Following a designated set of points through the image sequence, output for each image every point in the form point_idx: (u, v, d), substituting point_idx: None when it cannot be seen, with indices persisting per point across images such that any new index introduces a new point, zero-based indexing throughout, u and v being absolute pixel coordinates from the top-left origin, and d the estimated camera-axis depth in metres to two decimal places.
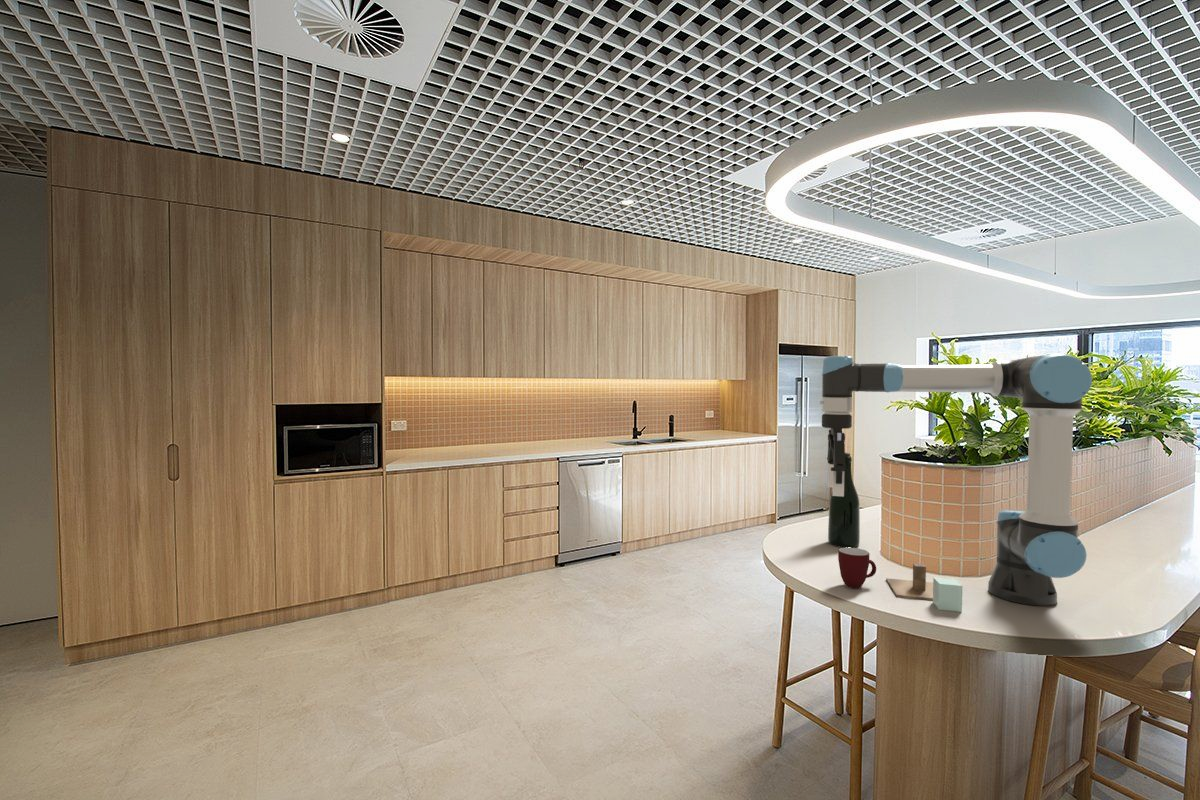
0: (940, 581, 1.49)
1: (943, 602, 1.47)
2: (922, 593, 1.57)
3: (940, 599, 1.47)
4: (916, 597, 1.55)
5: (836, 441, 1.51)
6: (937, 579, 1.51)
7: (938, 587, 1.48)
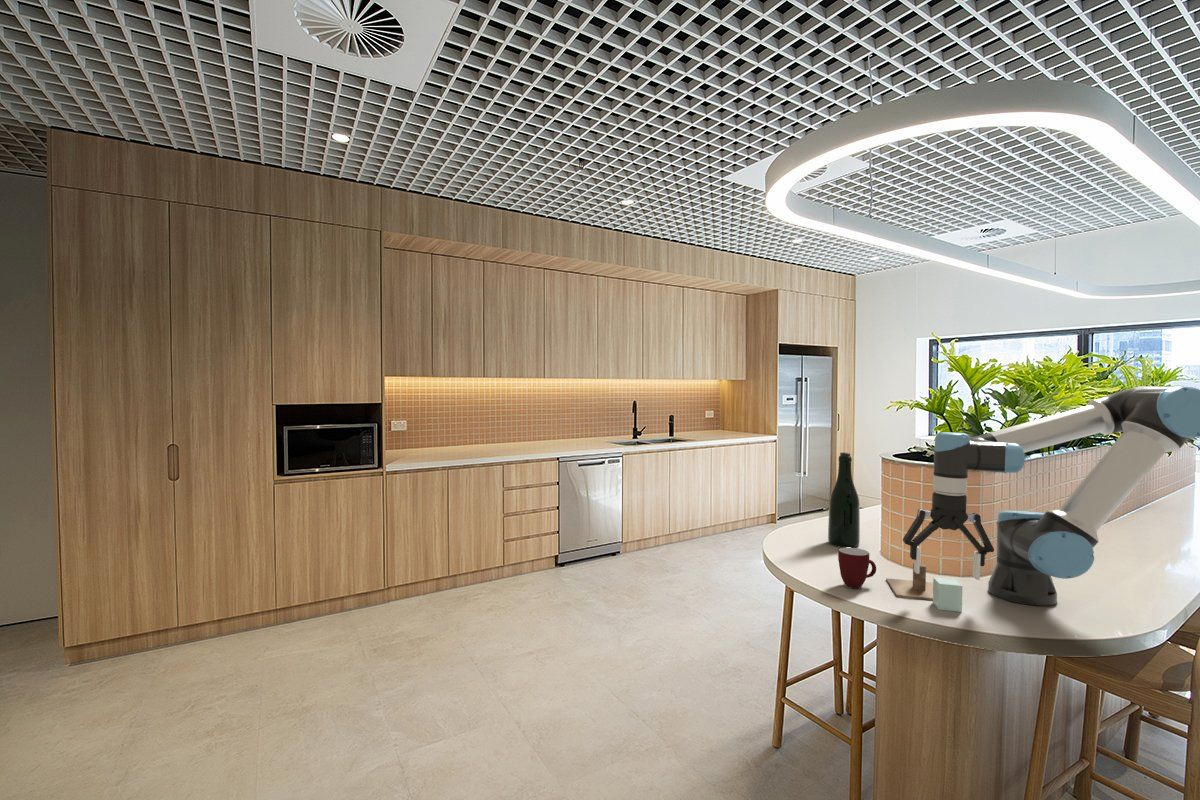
0: (940, 581, 1.49)
1: (943, 602, 1.47)
2: (922, 593, 1.57)
3: (940, 599, 1.47)
4: (916, 597, 1.55)
5: (917, 517, 1.51)
6: (937, 579, 1.51)
7: (938, 587, 1.48)
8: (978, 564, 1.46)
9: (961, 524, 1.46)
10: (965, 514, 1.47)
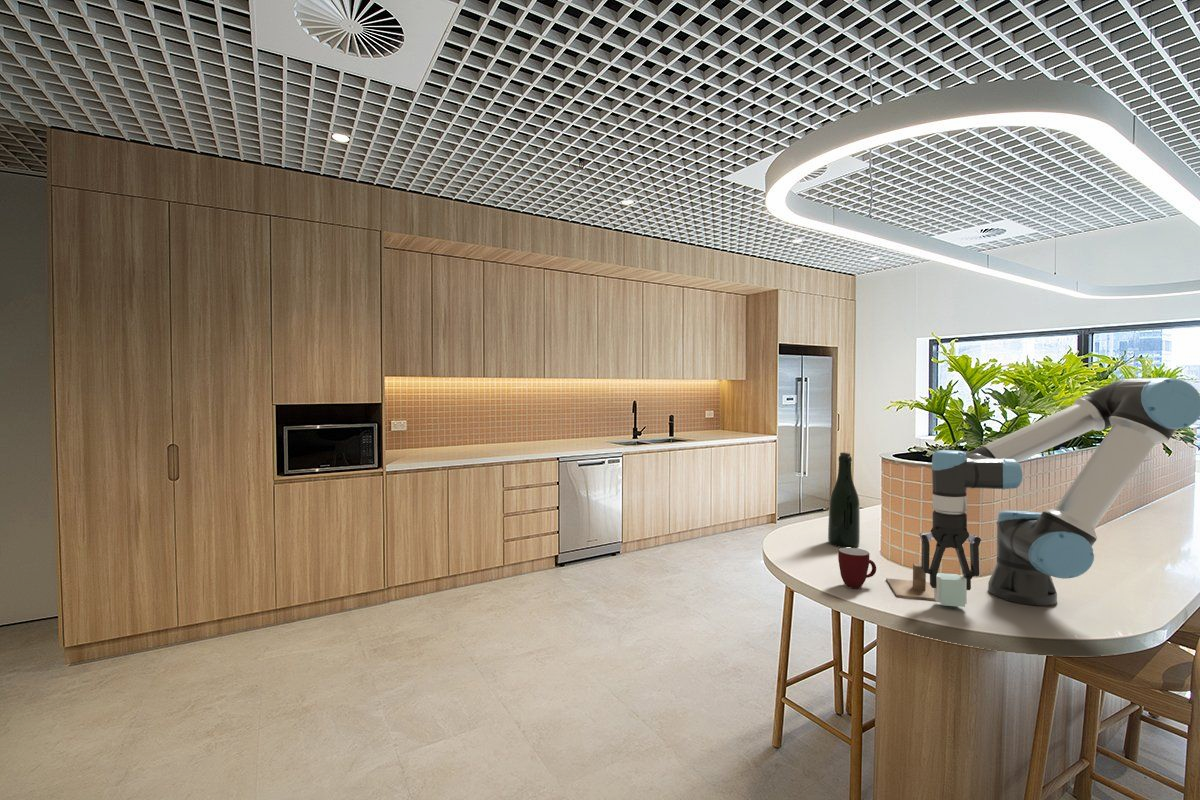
0: (942, 576, 1.49)
1: (946, 597, 1.47)
2: (922, 593, 1.57)
3: (943, 595, 1.47)
4: (916, 597, 1.55)
5: (922, 542, 1.51)
6: (939, 575, 1.50)
7: (940, 583, 1.48)
8: None
9: (960, 544, 1.47)
10: (967, 533, 1.47)
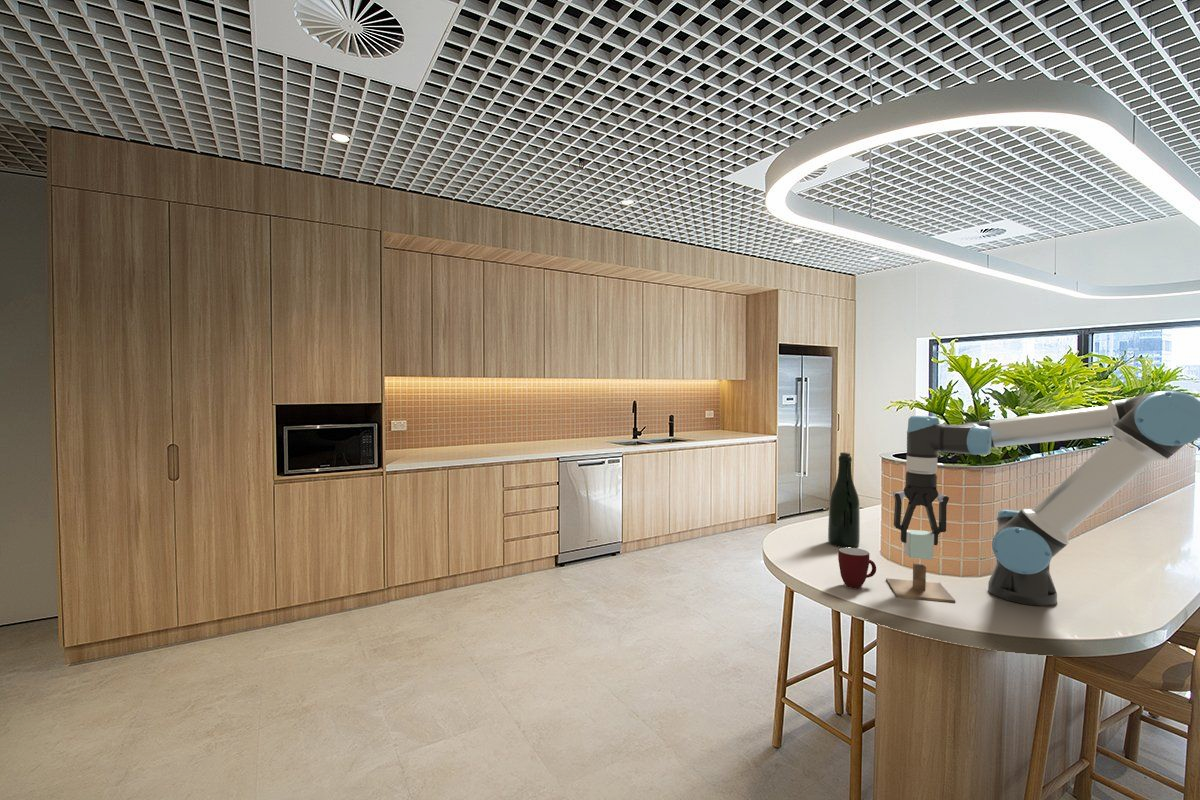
0: (912, 532, 1.61)
1: (915, 550, 1.59)
2: (922, 593, 1.57)
3: (912, 548, 1.59)
4: (916, 597, 1.55)
5: (895, 500, 1.63)
6: (910, 531, 1.62)
7: (910, 538, 1.60)
8: (932, 543, 1.59)
9: (929, 502, 1.58)
10: (937, 492, 1.58)
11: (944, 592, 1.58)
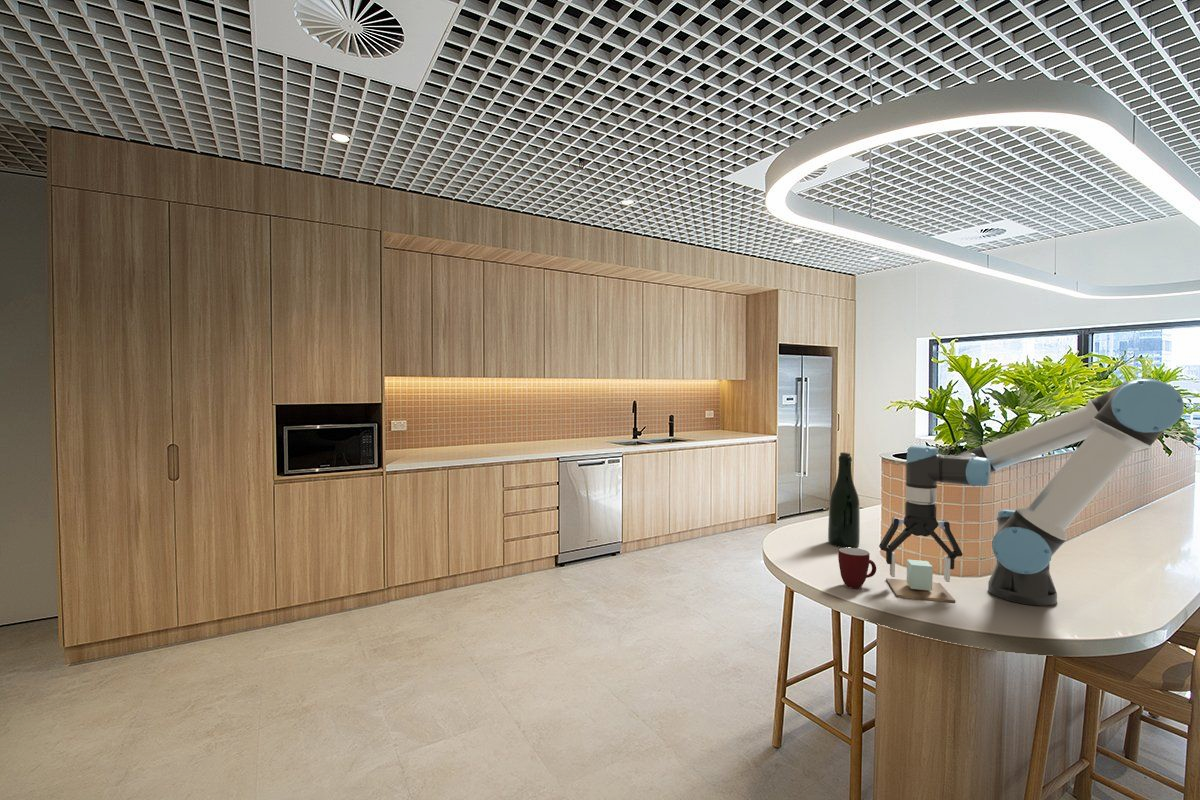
0: (912, 562, 1.61)
1: (915, 581, 1.59)
2: (922, 593, 1.57)
3: (912, 579, 1.59)
4: (916, 597, 1.55)
5: (891, 524, 1.63)
6: (910, 561, 1.62)
7: (910, 568, 1.60)
8: (948, 567, 1.58)
9: (932, 531, 1.58)
10: (935, 521, 1.58)
11: (944, 592, 1.58)
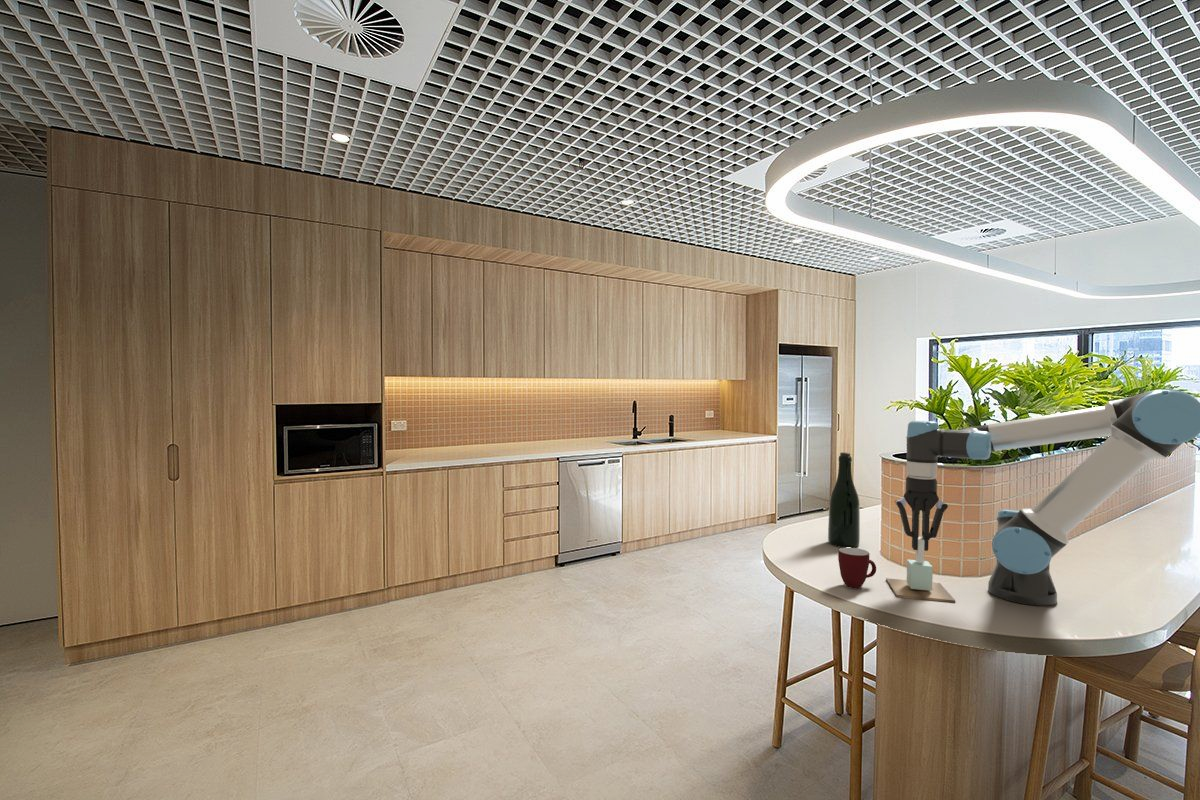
0: (912, 562, 1.61)
1: (915, 581, 1.59)
2: (922, 593, 1.57)
3: (912, 579, 1.59)
4: (916, 597, 1.55)
5: (899, 508, 1.62)
6: (910, 561, 1.62)
7: (910, 568, 1.60)
8: (922, 549, 1.59)
9: (928, 507, 1.58)
10: (937, 498, 1.58)
11: (944, 592, 1.58)
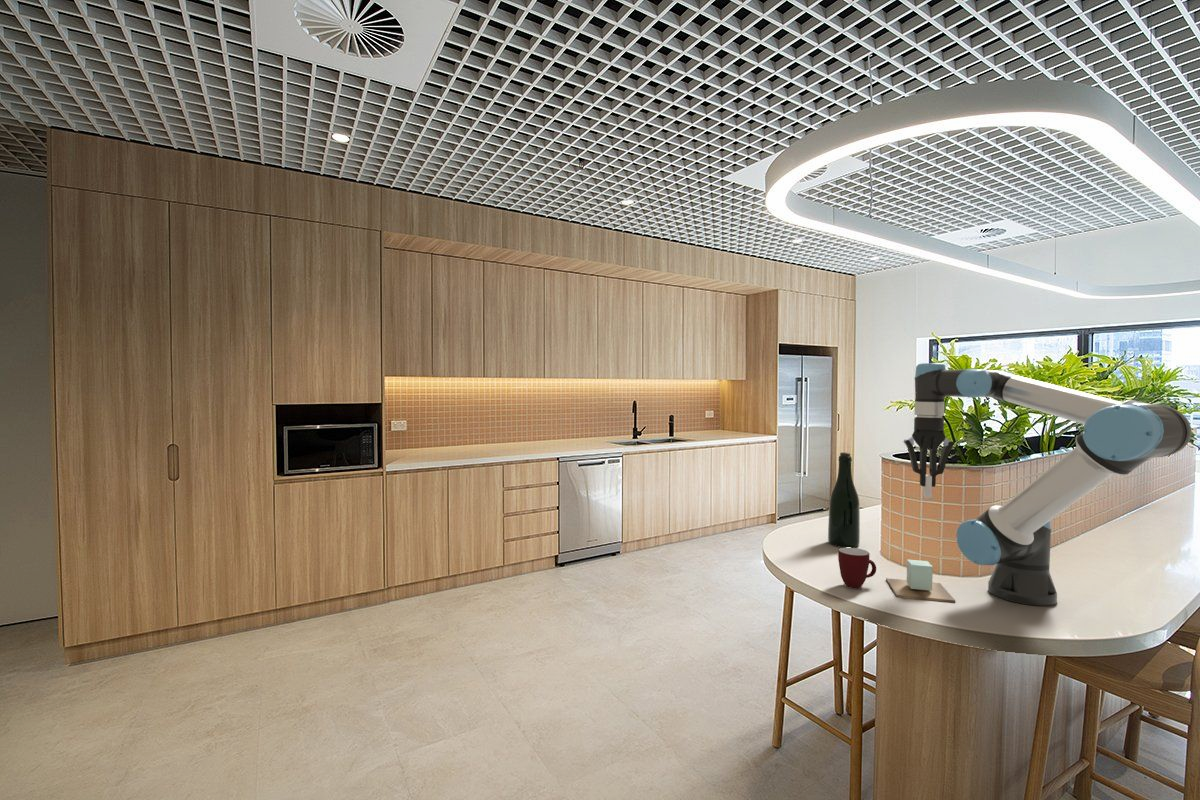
0: (912, 562, 1.61)
1: (915, 581, 1.59)
2: (922, 593, 1.57)
3: (912, 579, 1.59)
4: (916, 597, 1.55)
5: (907, 447, 1.70)
6: (910, 561, 1.62)
7: (910, 568, 1.60)
8: (930, 485, 1.67)
9: (935, 445, 1.66)
10: (944, 436, 1.66)
11: (944, 592, 1.58)
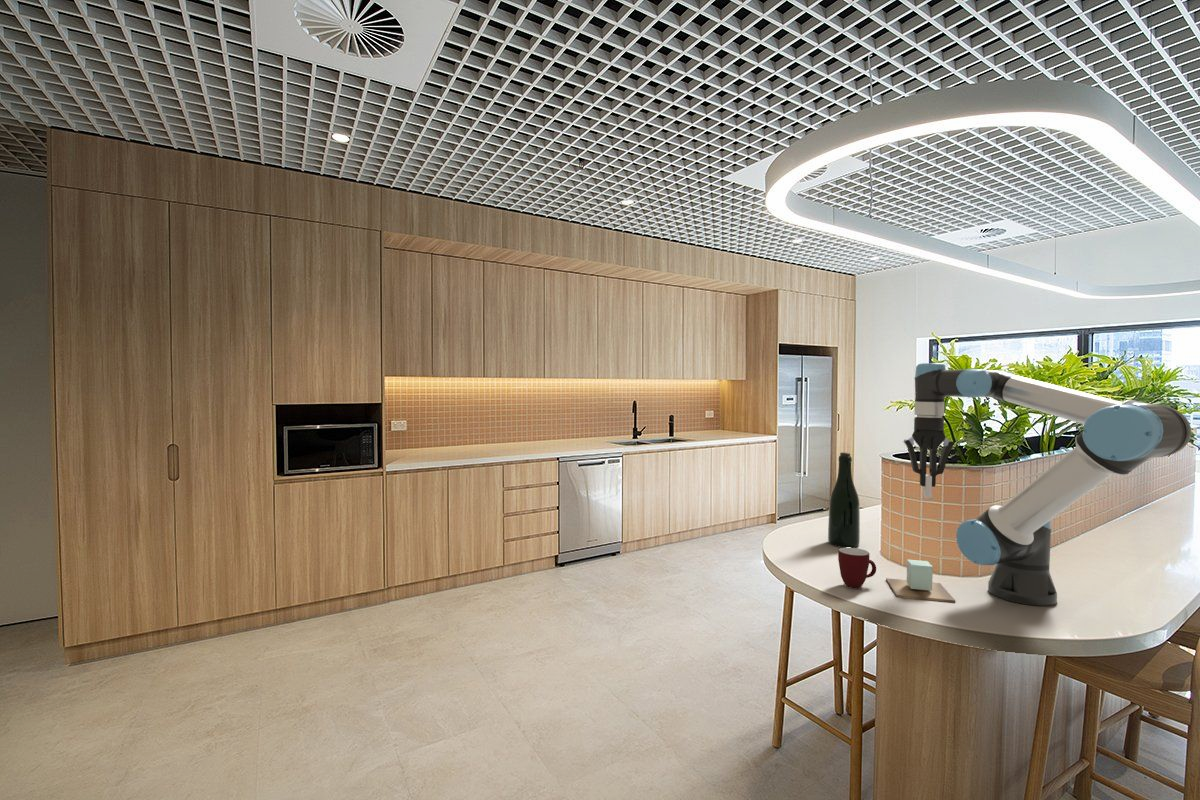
0: (912, 562, 1.61)
1: (915, 581, 1.59)
2: (922, 593, 1.57)
3: (912, 579, 1.59)
4: (916, 597, 1.55)
5: (907, 447, 1.71)
6: (910, 561, 1.62)
7: (910, 568, 1.60)
8: (930, 485, 1.67)
9: (935, 445, 1.66)
10: (944, 436, 1.66)
11: (944, 592, 1.58)
